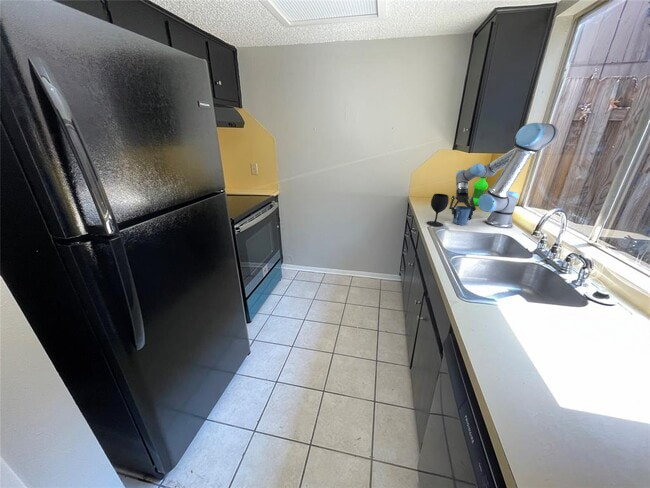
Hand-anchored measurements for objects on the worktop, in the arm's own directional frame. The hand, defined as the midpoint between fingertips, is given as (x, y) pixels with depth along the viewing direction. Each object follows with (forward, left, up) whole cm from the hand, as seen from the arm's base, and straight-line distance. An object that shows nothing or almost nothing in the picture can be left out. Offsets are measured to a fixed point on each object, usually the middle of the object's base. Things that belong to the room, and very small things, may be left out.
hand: (462, 218), depth 174 cm
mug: (+1, -2, -4) cm, 5 cm away
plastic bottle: (-15, -65, -4) cm, 67 cm away
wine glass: (+17, +8, -4) cm, 19 cm away
